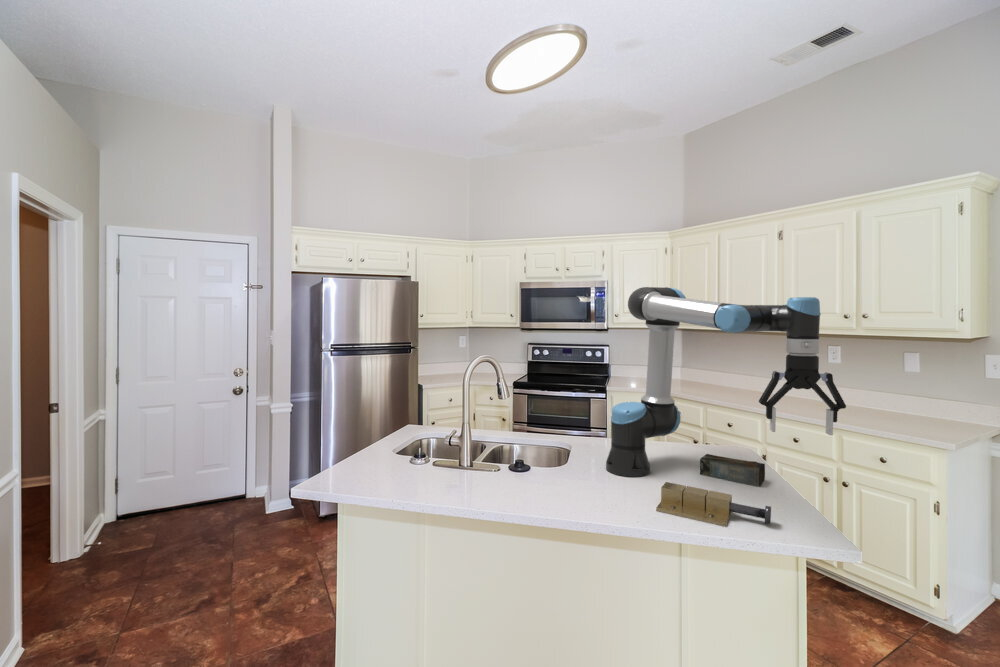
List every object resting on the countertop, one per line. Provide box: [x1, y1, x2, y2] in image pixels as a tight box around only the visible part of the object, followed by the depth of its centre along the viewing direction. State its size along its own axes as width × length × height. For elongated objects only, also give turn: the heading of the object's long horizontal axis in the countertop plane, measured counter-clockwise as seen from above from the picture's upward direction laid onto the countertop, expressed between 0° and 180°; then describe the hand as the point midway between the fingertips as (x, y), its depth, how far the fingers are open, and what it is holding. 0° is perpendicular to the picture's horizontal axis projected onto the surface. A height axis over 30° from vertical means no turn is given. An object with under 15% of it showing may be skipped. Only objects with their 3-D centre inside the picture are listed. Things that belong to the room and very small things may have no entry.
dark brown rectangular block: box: [699, 453, 766, 487], centre depth 163 cm, size 8×19×7 cm, turn 51°
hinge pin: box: [729, 502, 772, 525], centre depth 133 cm, size 19×4×4 cm, turn 57°
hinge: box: [655, 481, 733, 527], centre depth 138 cm, size 18×15×5 cm
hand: (800, 432), depth 131 cm, fingers open, 13 cm apart
